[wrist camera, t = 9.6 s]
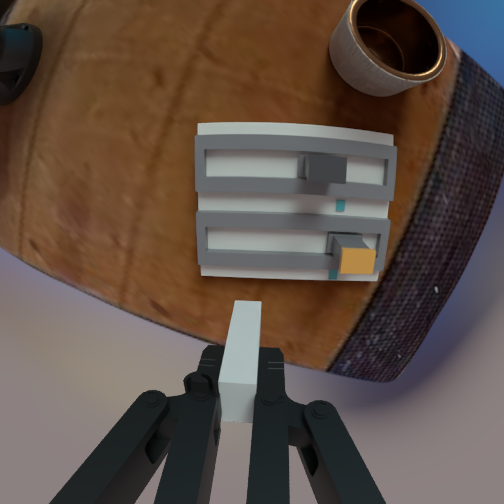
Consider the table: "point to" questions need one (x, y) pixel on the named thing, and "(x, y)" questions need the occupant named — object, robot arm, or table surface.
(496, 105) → the table surface
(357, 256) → the fader
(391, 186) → the console
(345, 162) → the fader
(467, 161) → the table surface
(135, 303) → the table surface
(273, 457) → the robot arm
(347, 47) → the planter
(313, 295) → the table surface
